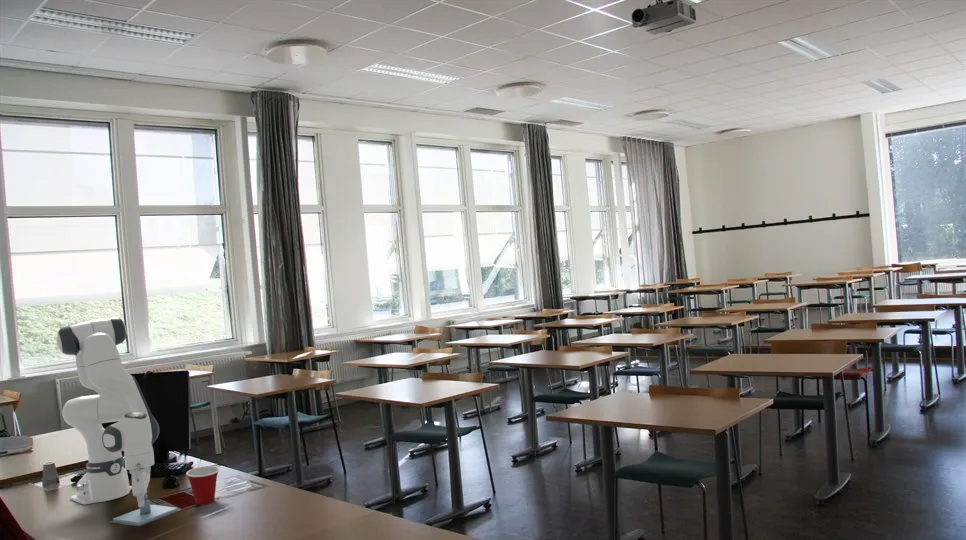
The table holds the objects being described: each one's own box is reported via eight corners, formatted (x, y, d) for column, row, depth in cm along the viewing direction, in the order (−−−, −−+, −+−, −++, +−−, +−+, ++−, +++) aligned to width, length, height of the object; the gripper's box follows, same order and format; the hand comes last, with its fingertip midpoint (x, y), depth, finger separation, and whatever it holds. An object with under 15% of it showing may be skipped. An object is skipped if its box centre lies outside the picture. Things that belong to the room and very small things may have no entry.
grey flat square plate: (108, 523, 227) (108, 521, 227) (152, 507, 241) (152, 505, 241) (138, 528, 220) (138, 526, 220) (182, 511, 234) (182, 509, 234)
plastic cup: (199, 511, 232) (196, 475, 232) (182, 507, 238) (179, 472, 239) (228, 501, 241) (225, 466, 241) (211, 497, 247) (208, 464, 247)
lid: (113, 520, 228) (112, 506, 228) (151, 506, 240) (150, 493, 240) (139, 524, 221) (138, 510, 221) (177, 510, 233) (176, 496, 233)
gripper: (147, 465, 222) (150, 508, 221) (152, 454, 241) (155, 493, 240) (125, 469, 219) (128, 512, 219) (132, 457, 238) (135, 497, 238)
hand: (142, 502), depth 230 cm, fingers open, 8 cm apart
